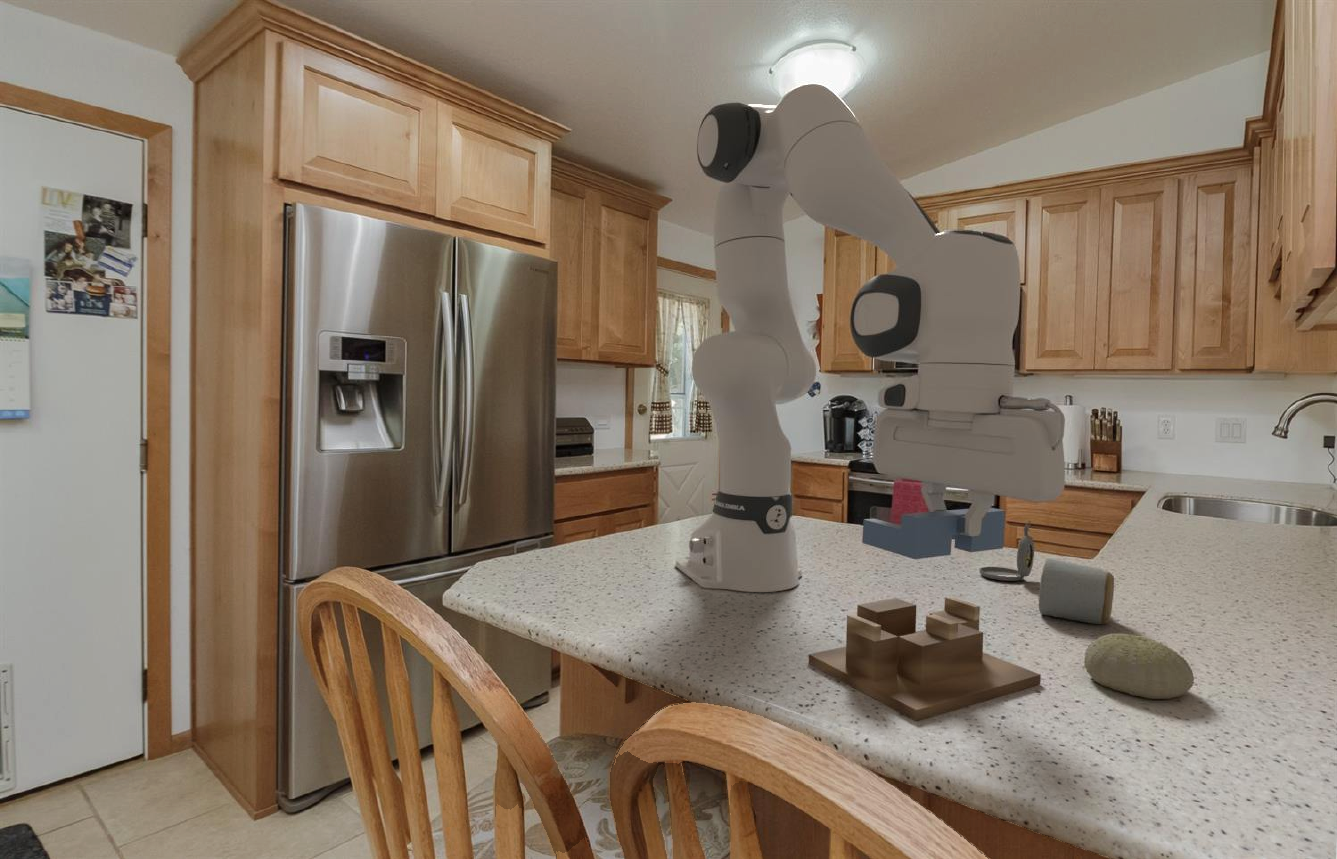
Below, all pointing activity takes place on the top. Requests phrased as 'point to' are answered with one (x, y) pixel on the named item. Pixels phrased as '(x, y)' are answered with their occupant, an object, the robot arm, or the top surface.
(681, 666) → the top surface
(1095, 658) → the sea urchin shell
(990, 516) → the blue stepped bracket
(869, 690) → the stand
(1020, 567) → the pocket watch
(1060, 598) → the ceramic mug
